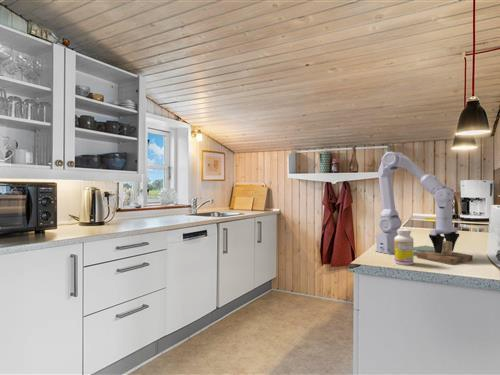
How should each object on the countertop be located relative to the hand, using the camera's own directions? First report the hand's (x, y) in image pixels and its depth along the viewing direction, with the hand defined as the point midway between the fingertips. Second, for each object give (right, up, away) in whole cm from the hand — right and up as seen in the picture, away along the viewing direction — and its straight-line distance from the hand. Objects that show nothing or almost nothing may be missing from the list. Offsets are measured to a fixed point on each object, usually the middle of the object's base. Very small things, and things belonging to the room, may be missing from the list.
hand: (444, 251), depth 140 cm
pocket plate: (0, -3, 0) cm, 3 cm away
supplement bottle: (-19, -3, -7) cm, 20 cm away
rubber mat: (+3, -3, +19) cm, 19 cm away
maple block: (0, -3, 0) cm, 3 cm away
